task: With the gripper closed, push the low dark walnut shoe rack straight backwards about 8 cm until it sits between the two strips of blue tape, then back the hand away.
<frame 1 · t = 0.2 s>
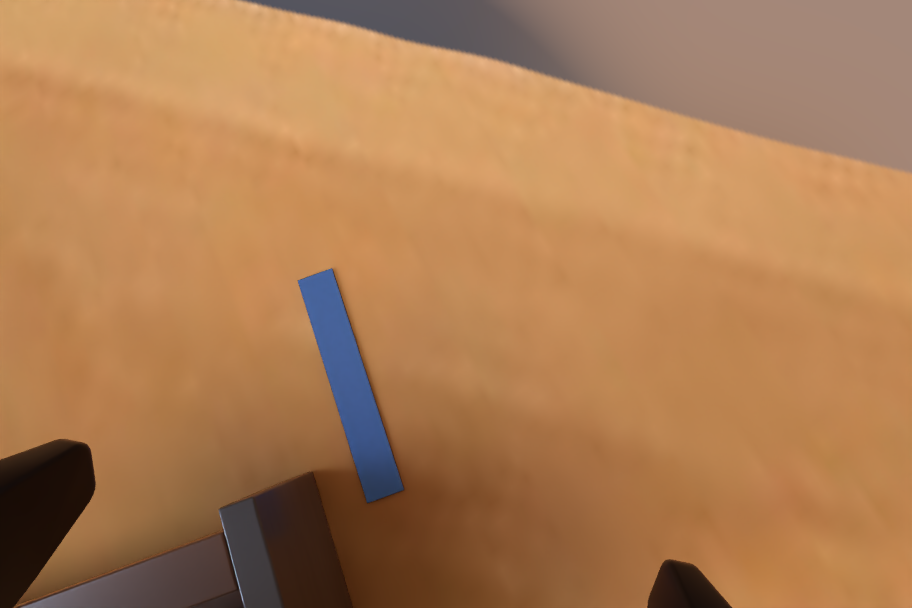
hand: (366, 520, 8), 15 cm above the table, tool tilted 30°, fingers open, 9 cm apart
tape marks: (94, 474, 23), on the table
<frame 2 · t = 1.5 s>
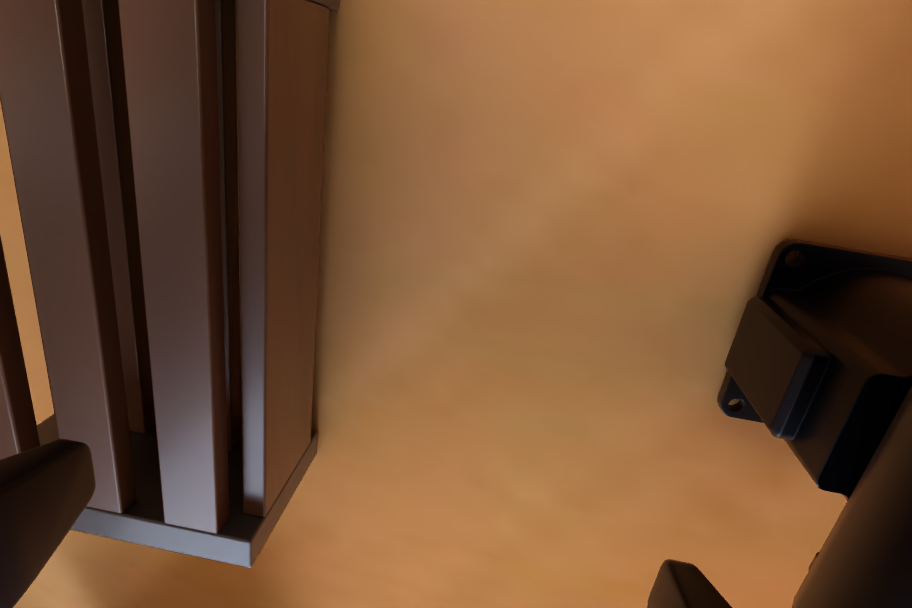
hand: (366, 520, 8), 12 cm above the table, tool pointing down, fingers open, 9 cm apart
shoe rack: (195, 229, 20), on the table
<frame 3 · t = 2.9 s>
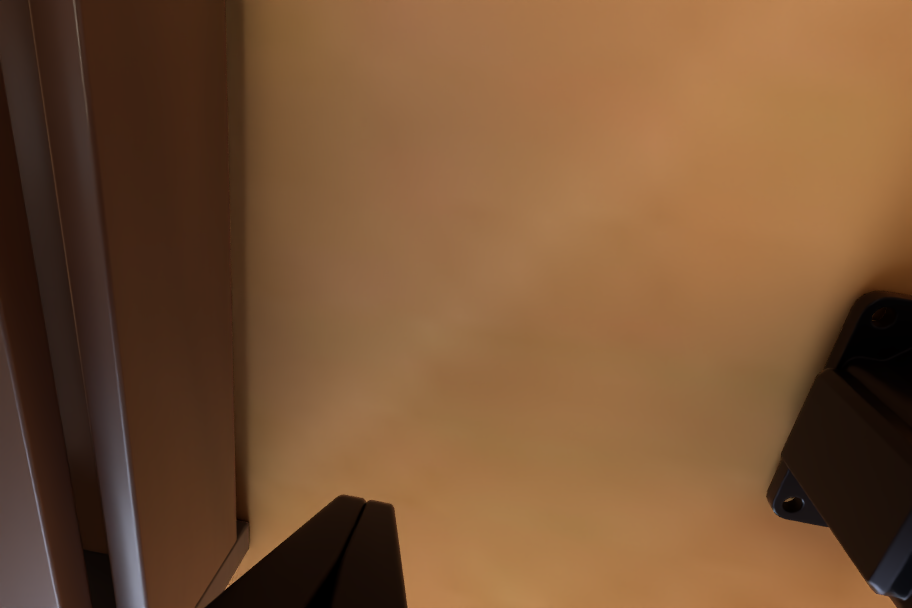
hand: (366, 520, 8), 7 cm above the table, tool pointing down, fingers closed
shoe rack: (72, 271, 15), on the table
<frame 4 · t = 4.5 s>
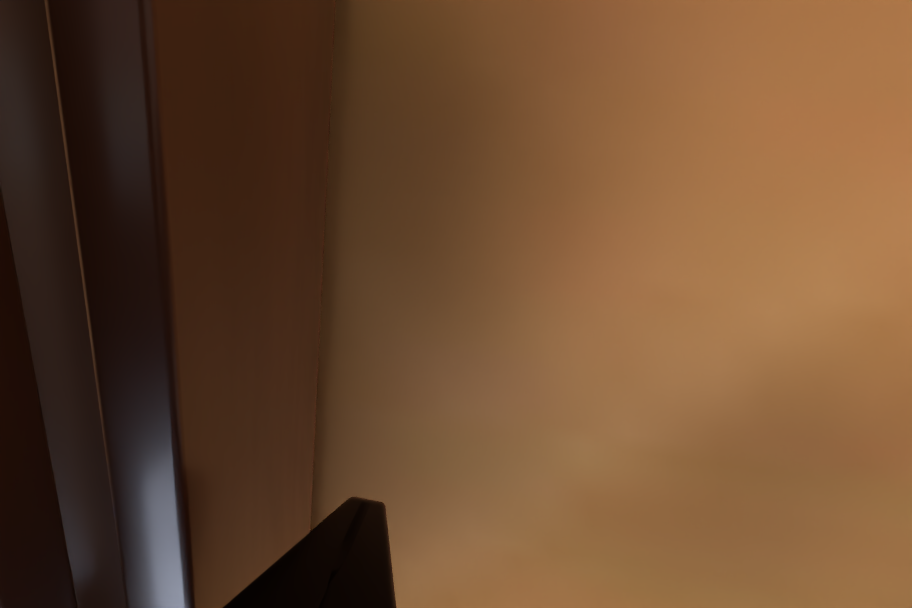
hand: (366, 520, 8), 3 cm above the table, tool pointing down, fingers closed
shoe rack: (87, 367, 11), on the table, touching gripper
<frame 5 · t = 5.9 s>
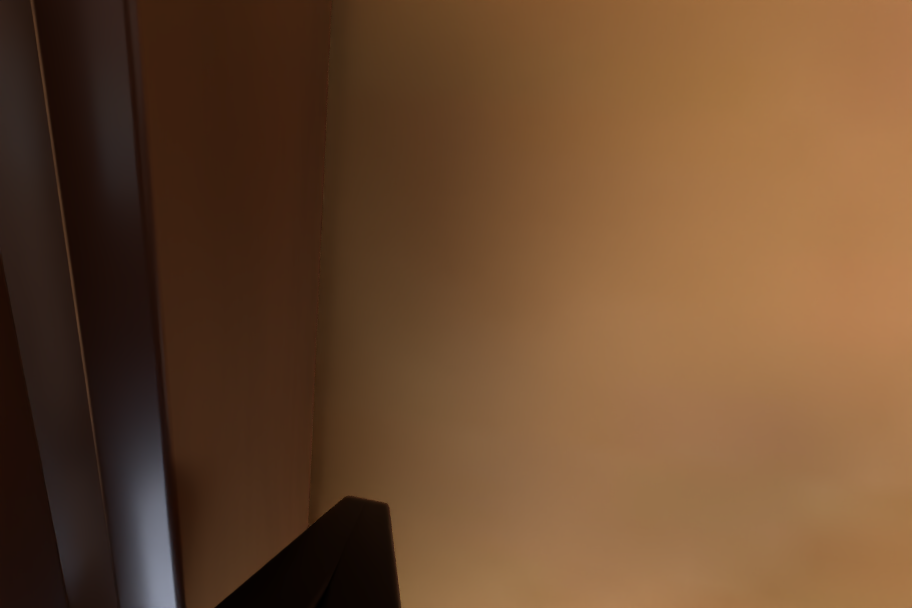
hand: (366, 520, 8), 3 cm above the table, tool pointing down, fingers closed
shoe rack: (88, 365, 11), on the table, touching gripper
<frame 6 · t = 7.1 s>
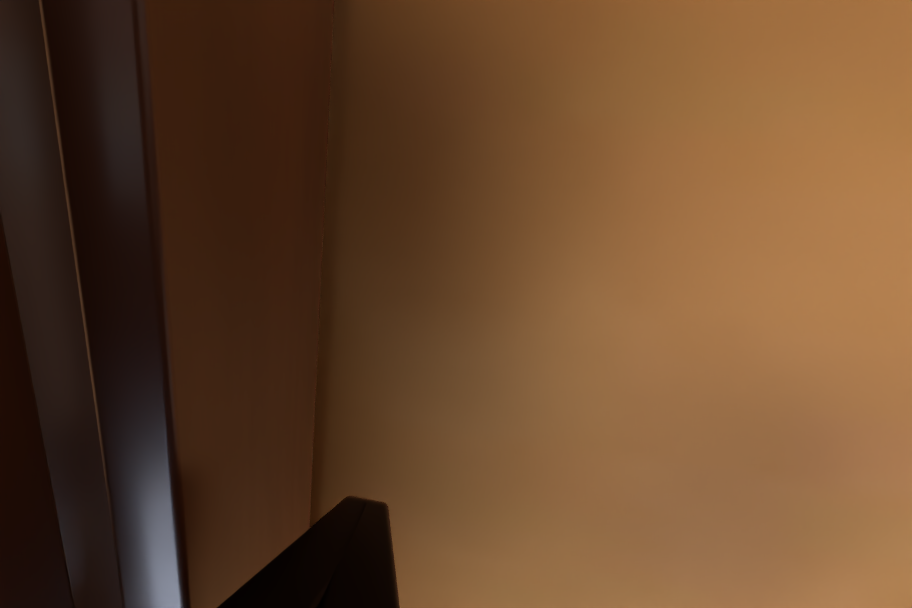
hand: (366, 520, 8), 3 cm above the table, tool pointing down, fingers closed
shoe rack: (88, 365, 11), on the table, touching gripper
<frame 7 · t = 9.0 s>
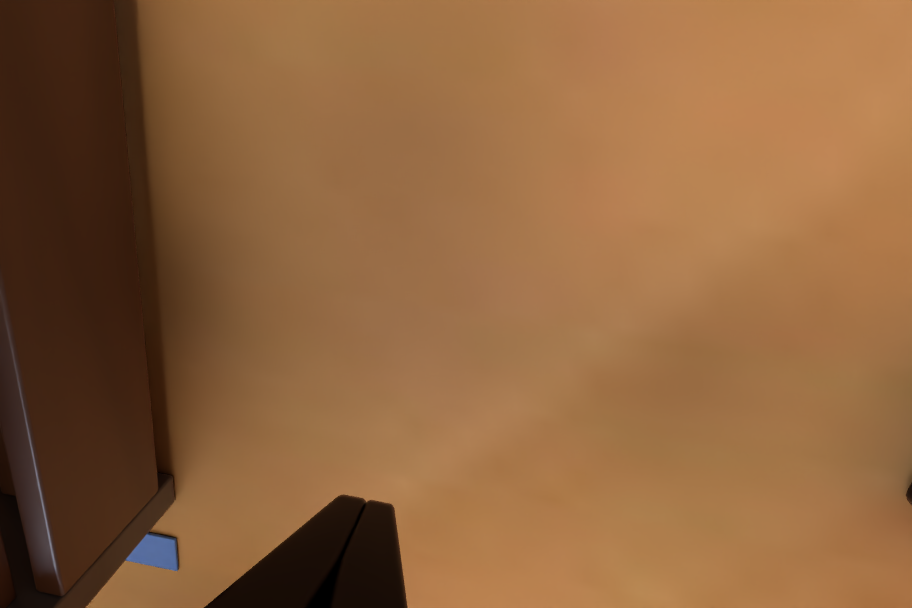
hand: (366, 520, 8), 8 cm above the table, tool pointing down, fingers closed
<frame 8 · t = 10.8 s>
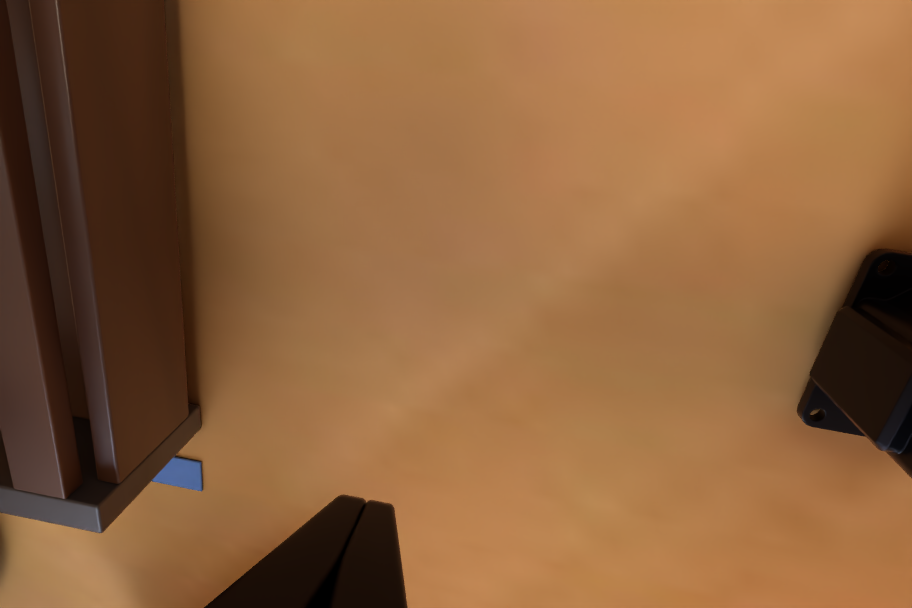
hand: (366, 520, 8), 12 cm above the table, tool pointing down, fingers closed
tape marks: (60, 202, 20), on the table
shoe rack: (62, 203, 20), on the table
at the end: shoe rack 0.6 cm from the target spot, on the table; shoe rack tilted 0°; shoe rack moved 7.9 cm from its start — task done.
